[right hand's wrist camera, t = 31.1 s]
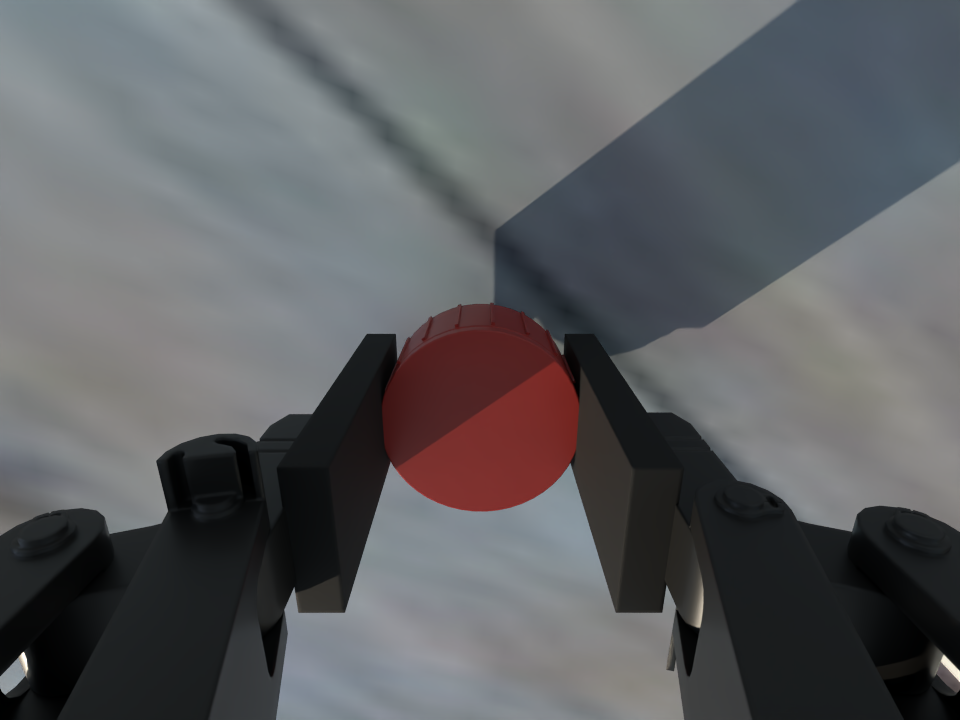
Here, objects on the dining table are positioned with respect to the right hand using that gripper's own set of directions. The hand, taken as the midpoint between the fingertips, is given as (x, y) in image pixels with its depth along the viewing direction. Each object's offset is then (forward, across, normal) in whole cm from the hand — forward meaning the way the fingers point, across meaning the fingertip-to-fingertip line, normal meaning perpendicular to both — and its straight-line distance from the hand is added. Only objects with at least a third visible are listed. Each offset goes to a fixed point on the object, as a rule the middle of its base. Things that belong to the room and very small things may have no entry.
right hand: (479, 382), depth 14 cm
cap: (-2, 0, 0) cm, 2 cm away
